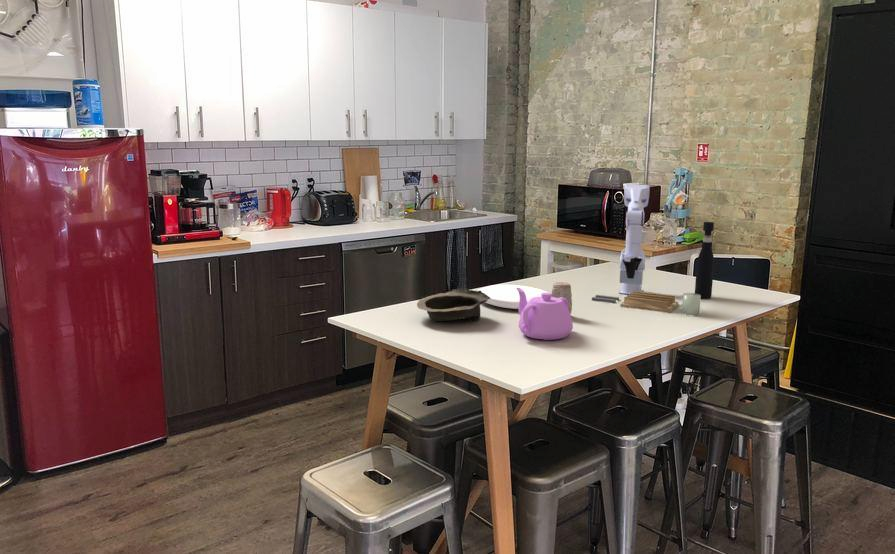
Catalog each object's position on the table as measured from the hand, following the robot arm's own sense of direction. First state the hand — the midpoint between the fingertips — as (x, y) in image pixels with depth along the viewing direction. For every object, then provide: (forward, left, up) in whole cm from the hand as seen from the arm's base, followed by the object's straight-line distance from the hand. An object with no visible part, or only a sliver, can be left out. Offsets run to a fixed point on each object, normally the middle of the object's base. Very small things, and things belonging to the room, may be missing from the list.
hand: (631, 277), depth 274 cm
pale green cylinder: (+5, +23, -10) cm, 26 cm away
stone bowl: (+57, -47, -10) cm, 74 cm away
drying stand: (0, -10, -10) cm, 14 cm away
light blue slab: (0, 0, -2) cm, 2 cm away
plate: (+24, -38, -10) cm, 46 cm away
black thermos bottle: (-25, +22, -10) cm, 35 cm away
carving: (+33, -16, -10) cm, 38 cm away
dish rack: (0, +7, -10) cm, 12 cm away
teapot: (+58, -14, -10) cm, 60 cm away
